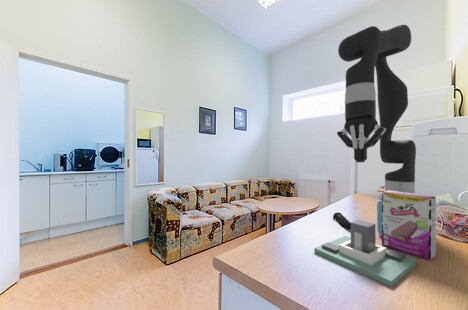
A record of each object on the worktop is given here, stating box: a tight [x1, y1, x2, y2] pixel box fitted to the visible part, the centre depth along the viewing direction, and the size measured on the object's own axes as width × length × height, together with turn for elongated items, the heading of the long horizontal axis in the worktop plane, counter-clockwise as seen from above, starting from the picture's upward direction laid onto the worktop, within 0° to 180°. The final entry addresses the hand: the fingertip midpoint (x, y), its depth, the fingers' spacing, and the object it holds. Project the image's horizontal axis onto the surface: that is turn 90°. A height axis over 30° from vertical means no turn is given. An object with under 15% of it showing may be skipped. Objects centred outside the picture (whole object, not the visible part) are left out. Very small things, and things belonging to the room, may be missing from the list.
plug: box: [350, 219, 377, 254], centre depth 54 cm, size 5×4×8 cm
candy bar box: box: [381, 190, 437, 261], centre depth 58 cm, size 11×5×16 cm, turn 34°
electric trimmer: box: [332, 212, 351, 229], centre depth 82 cm, size 4×16×3 cm, turn 169°
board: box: [314, 235, 418, 288], centre depth 54 cm, size 16×18×3 cm
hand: (360, 162), depth 59 cm, fingers closed
